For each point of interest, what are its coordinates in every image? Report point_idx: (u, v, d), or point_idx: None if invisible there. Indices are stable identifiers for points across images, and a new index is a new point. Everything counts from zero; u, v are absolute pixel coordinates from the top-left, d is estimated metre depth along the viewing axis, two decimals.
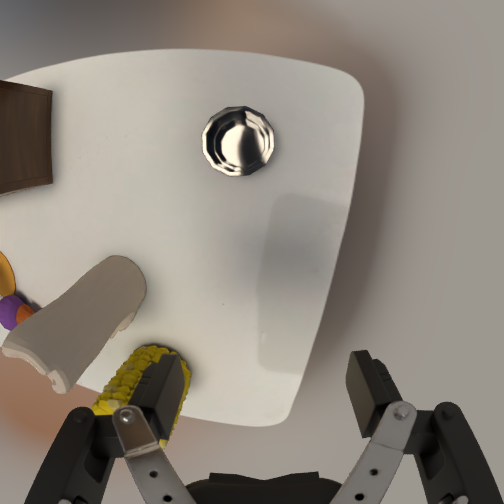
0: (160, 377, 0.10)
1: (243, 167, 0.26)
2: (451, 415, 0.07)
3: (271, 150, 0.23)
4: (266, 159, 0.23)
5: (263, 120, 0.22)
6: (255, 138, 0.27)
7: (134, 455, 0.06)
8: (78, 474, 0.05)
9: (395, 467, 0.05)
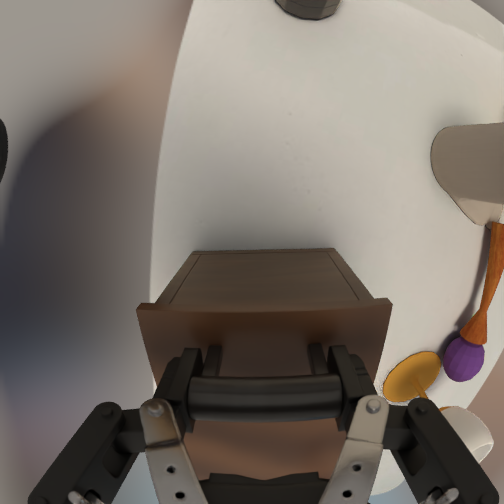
0: (185, 370, 0.11)
1: None
2: (425, 411, 0.07)
3: None
4: None
5: None
6: None
7: (155, 449, 0.06)
8: (95, 468, 0.06)
9: (377, 460, 0.05)
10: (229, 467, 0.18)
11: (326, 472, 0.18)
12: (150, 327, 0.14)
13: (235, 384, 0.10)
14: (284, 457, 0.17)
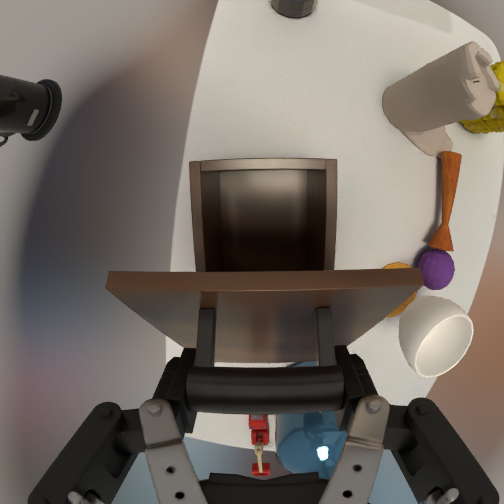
0: (184, 370, 0.11)
1: None
2: (425, 411, 0.07)
3: None
4: None
5: None
6: None
7: (155, 449, 0.06)
8: (94, 468, 0.06)
9: (377, 460, 0.05)
10: (231, 354, 0.23)
11: None
12: (128, 298, 0.11)
13: (234, 392, 0.10)
14: (283, 351, 0.22)
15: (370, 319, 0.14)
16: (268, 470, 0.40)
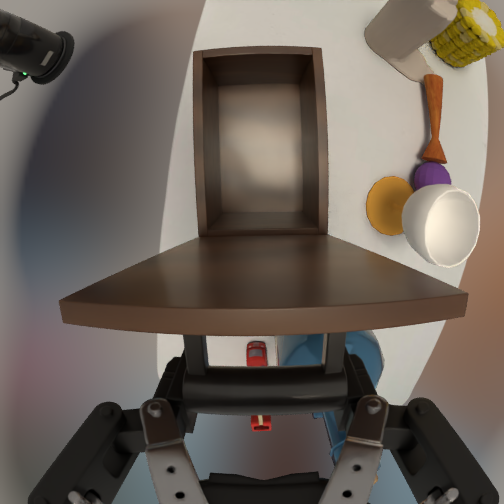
0: None
1: None
2: (425, 411, 0.07)
3: None
4: None
5: None
6: None
7: (155, 448, 0.06)
8: (95, 468, 0.06)
9: (377, 460, 0.05)
10: None
11: None
12: None
13: (233, 407, 0.09)
14: None
15: None
16: (269, 421, 0.40)
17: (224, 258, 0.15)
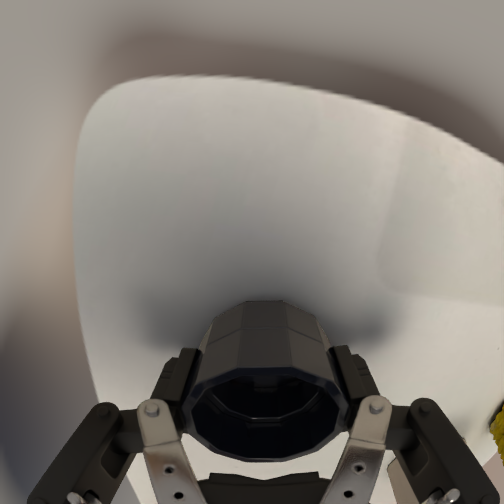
0: (182, 371, 0.11)
1: None
2: (428, 411, 0.07)
3: (296, 371, 0.08)
4: (319, 380, 0.08)
5: (212, 384, 0.08)
6: None
7: (153, 449, 0.06)
8: (93, 469, 0.06)
9: (379, 461, 0.05)
10: None
11: None
12: None
13: None
14: None
15: None
16: None
17: None
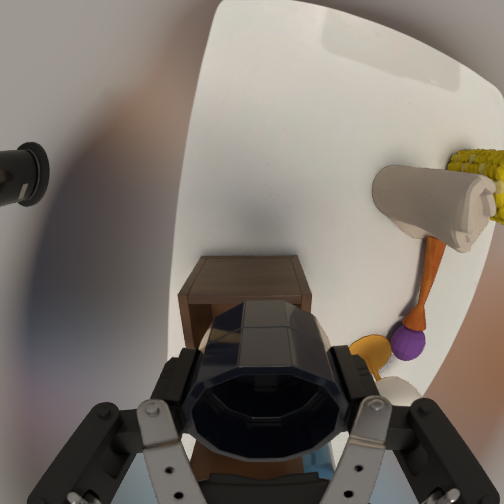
0: (182, 371, 0.11)
1: None
2: (428, 411, 0.07)
3: (296, 370, 0.08)
4: (319, 379, 0.08)
5: (211, 384, 0.08)
6: None
7: (153, 449, 0.06)
8: (93, 469, 0.06)
9: (379, 461, 0.05)
10: None
11: None
12: None
13: None
14: None
15: None
16: None
17: None
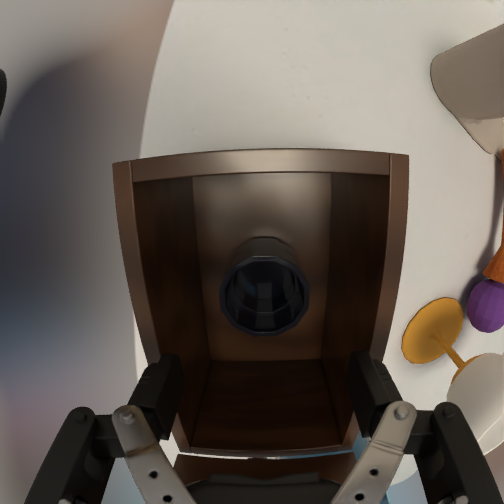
0: (160, 377, 0.10)
1: (296, 281, 0.21)
2: (451, 415, 0.07)
3: (278, 259, 0.18)
4: (290, 265, 0.18)
5: (237, 268, 0.19)
6: None
7: (134, 455, 0.06)
8: (78, 474, 0.05)
9: (395, 467, 0.05)
10: None
11: None
12: None
13: None
14: None
15: None
16: None
17: None
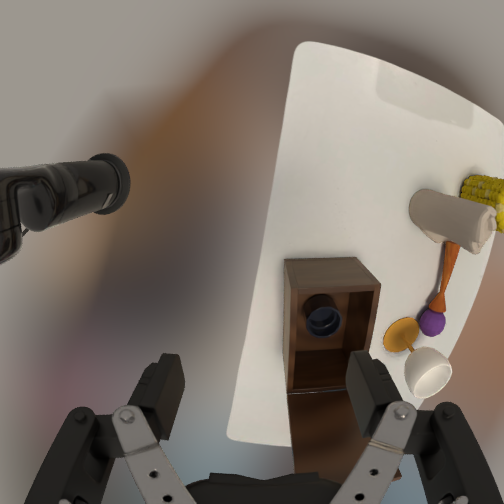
0: (160, 377, 0.10)
1: (335, 314, 0.47)
2: (451, 415, 0.07)
3: (331, 308, 0.45)
4: (335, 310, 0.45)
5: (315, 312, 0.45)
6: None
7: (134, 455, 0.06)
8: (78, 474, 0.05)
9: (395, 467, 0.05)
10: None
11: None
12: None
13: None
14: None
15: None
16: None
17: (326, 447, 0.29)
